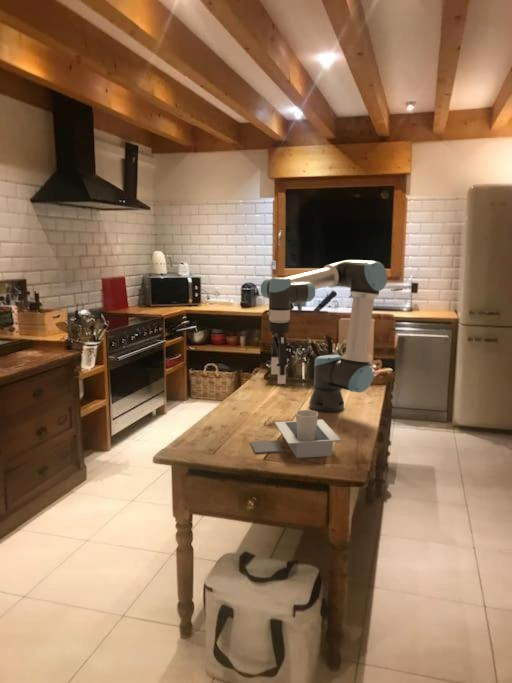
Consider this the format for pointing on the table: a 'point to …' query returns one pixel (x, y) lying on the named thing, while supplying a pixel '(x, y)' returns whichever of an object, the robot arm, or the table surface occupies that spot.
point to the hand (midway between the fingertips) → (278, 378)
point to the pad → (266, 447)
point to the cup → (306, 425)
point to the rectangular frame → (309, 447)
